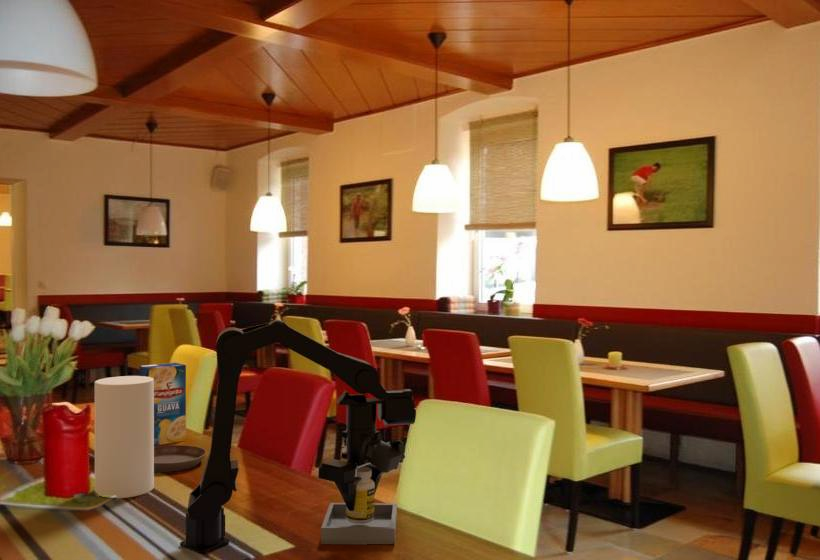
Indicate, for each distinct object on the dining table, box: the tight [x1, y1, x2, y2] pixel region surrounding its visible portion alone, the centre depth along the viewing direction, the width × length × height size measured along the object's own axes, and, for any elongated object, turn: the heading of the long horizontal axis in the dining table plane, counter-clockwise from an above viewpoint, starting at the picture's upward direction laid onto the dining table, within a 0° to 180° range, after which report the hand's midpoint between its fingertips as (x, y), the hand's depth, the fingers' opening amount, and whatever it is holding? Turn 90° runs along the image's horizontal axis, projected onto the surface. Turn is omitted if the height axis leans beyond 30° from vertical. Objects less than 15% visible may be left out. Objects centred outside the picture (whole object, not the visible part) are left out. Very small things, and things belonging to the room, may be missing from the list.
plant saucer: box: [154, 444, 207, 473], centre depth 181 cm, size 18×18×3 cm
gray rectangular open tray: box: [320, 502, 398, 545], centre depth 137 cm, size 14×14×3 cm
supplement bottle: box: [346, 467, 376, 524], centre depth 137 cm, size 5×5×10 cm
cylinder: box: [94, 375, 155, 499], centre depth 160 cm, size 12×12×25 cm
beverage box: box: [138, 362, 187, 447], centre depth 203 cm, size 7×11×22 cm, turn 133°
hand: (360, 506), depth 137 cm, fingers closed on supplement bottle, 5 cm apart
